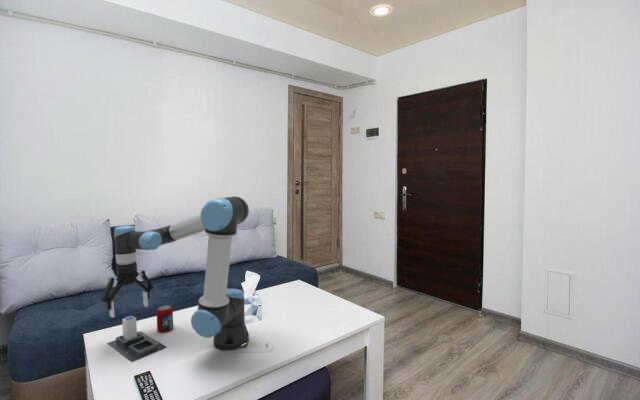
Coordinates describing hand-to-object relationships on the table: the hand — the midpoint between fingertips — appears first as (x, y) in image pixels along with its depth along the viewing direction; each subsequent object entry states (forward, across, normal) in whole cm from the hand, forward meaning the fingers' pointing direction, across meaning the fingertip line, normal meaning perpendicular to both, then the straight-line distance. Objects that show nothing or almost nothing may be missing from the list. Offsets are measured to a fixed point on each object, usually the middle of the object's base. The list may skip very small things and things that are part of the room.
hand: (129, 311), depth 143 cm
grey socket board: (+15, 0, +5) cm, 16 cm away
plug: (+13, 0, -1) cm, 13 cm away
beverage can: (+15, -14, +1) cm, 21 cm away
